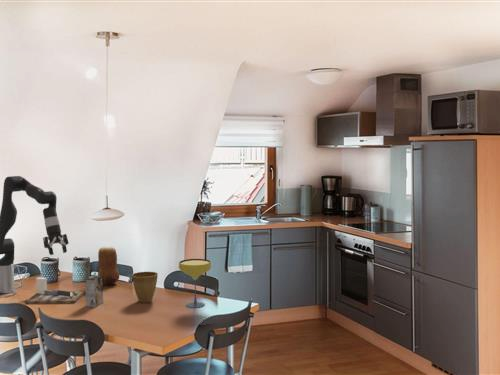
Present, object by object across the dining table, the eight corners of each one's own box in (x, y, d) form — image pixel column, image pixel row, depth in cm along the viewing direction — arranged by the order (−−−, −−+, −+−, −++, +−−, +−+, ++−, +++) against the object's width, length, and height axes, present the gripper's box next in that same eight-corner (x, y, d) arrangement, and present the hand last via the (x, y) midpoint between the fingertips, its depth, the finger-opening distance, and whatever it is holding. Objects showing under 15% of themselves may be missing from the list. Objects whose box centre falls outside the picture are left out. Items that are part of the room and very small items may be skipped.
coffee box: (93, 301, 318) (92, 274, 317) (103, 302, 317) (102, 275, 316) (85, 306, 309) (84, 278, 308) (95, 307, 308) (95, 279, 307)
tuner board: (25, 303, 315) (25, 299, 314) (38, 294, 335) (38, 290, 334) (74, 303, 316) (74, 298, 315) (84, 293, 336) (84, 289, 335)
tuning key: (72, 295, 323) (71, 280, 322) (67, 297, 319) (67, 282, 318) (40, 291, 332) (39, 277, 332) (35, 293, 329) (34, 278, 328)
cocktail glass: (175, 302, 316) (175, 260, 314) (205, 299, 323) (205, 257, 321) (184, 311, 299) (184, 266, 297) (215, 307, 306) (215, 263, 304)
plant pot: (163, 299, 324) (162, 272, 322) (148, 305, 310) (147, 278, 309) (142, 296, 330) (142, 270, 329) (127, 302, 316) (126, 275, 315)
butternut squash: (110, 281, 367) (109, 244, 365) (123, 283, 360) (122, 246, 358) (93, 285, 356) (92, 247, 354) (106, 288, 348) (106, 249, 346)
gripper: (59, 226, 316) (65, 253, 314) (37, 228, 304) (43, 257, 302) (67, 222, 312) (73, 250, 310) (45, 225, 300) (51, 254, 298)
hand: (58, 253), depth 306 cm, fingers open, 8 cm apart
